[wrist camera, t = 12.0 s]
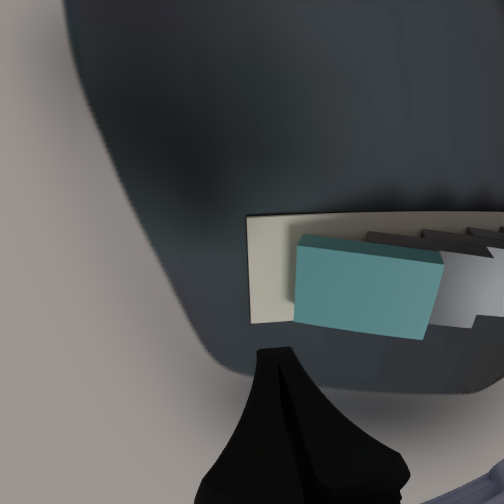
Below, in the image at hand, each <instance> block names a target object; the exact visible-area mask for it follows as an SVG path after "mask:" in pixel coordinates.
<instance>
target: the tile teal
mask: <svg viewBox="0 0 504 504" xmlns="http://www.w3.org/2000/svg"><path fill="white" fill-rule="evenodd" d="M444 266H445V264H444V262H443V259H442V257H441V254H440V252H437V251H429V250H422V249H415V248H408V247H400V246H393V245H385V244H377V243H370V242H362V241H354V240H346V239H338V238H330V237H321V236H313V235H304V234H303V236H302V237H301V239H300V241H299V243H298V245H297V260H296V283H295V303H294V322H300V323H306V324H312V325H318V326H324V327H330V328H337V329H343V330H350V331H357V332H364V333H371V334H378V335H386V336H394V337H402V338H410V339H419V340H423V337H424V334H425V331H426V328H427V325H428V322H429V319H430V316H431V312H432V309H433V306H434V303H435V299H436V296H437V292H438V289H439V285H440V281H441V278H442V274H443V270H444Z"/></svg>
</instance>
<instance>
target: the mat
mask: <svg viewBox="0 0 504 504" xmlns="http://www.w3.org/2000/svg"><path fill="white" fill-rule="evenodd" d="M500 226H504V212H483V211H408V212H354V213H321V214H295V215H272V216H252V217H247V239H248V263H249V287H250V310H251V323H265V322H278V321H291V320H294V303H295V283H296V260H297V245H298V243H299V241H300V239H301V237H302V236H303V234H304V235H313V236H321V237H330V238H338V239H346V240H354V241H362V242H367V236H368V231H373V232H381V233H389V234H397V235H405V236H412V237H421V231H422V229H428V230H436V231H443V232H450V233H457V234H464V235H466V231H467V227H472V228H478V229H484V230H490V231H496V232H499V229H500Z"/></svg>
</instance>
